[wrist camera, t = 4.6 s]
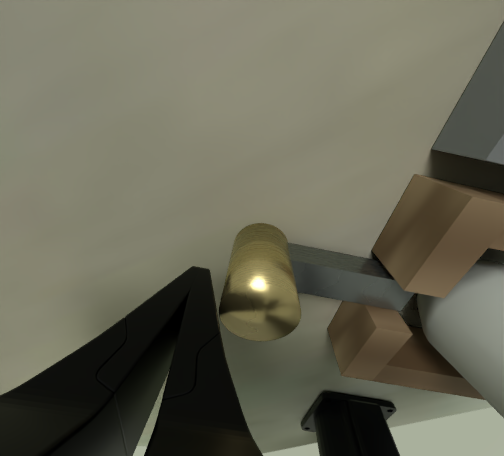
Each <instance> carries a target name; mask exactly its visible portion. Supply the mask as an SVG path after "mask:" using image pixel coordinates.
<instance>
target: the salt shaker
mask: <svg viewBox="0 0 504 456" xmlns="http://www.w3.org/2000/svg"><path fill="white" fill-rule="evenodd" d="M416 301H417V305H418V310H419V314H420V319H421V323H422V328H423V332H424V334H425V336H426V338H427V340H428V342H429V343H430V344H431V345H432V346H433V347H434V348H435V349H436V350H437V351H438V352H439V353H440V354H441V355H442V356H443V357H444V358H445V359H446V360H447V361H448V362H449V363H450V364H451V365H452V366H453V367H454V368H455V369H456V370H457V371H458V372H459V373H460V374H461V375H462V376H463V377H464V378H465V379H466V380H467V381H468V382H469V383H470V384H471V385H472V386H473V387H474V388H475V389H476V390H477V391H478V392H479V393H480V394H481V395H482V396H483V397H484V398H485V399H486V400H487V401H488V403H489V404H490V405H491V406H492V407H493V408H494V409H496V411H497V412H498V413H499V414H500V415H501V416H502V417H503V418H504V264H501V263H497V262H493V261H488V260H477V261H476V263H475V264H474V265H473V266H472V267H471V268H470V269H469V271H468V272H467V273H466V274H465V275H464V276H463V277H462V279H461V280H460V281H459V282H458V283H457V284H456V285H455V287H454V288H453V289H452V290H451V291H450V292H449V293H448V295H447V296H446V297H445V298H440V297H435V296H430V295H424V294H419V293H418V295H417V298H416Z"/></svg>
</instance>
